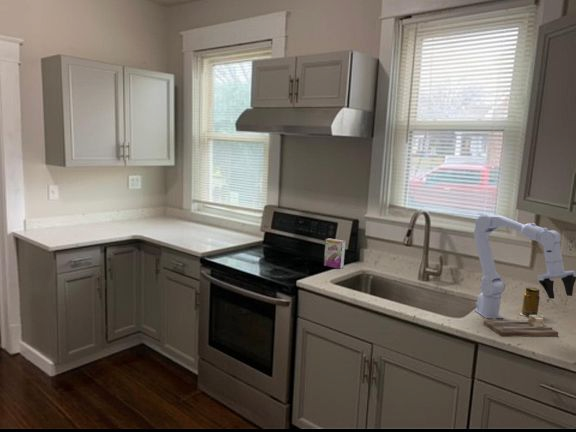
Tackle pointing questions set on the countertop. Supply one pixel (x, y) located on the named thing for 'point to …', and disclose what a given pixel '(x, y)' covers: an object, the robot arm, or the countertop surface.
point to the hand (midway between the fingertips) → (560, 297)
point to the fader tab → (535, 321)
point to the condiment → (531, 302)
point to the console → (519, 328)
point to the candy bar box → (334, 253)
